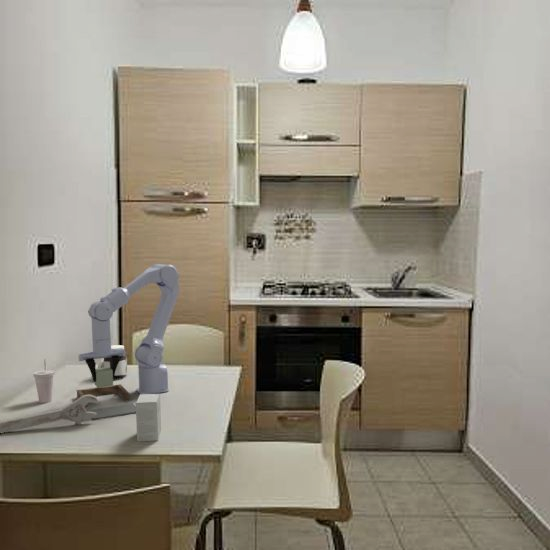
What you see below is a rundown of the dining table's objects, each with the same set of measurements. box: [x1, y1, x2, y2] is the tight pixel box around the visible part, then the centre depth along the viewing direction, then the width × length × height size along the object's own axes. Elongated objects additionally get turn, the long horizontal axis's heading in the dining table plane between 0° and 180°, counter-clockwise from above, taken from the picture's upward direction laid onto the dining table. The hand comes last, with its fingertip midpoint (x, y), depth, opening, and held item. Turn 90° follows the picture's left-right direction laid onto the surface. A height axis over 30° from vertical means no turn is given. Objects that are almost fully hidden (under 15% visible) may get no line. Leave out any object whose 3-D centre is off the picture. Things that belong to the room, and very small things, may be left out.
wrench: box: [0, 394, 100, 434], centre depth 163 cm, size 8×2×30 cm
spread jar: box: [96, 344, 128, 380], centre depth 220 cm, size 12×11×12 cm
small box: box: [135, 393, 162, 443], centre depth 155 cm, size 8×6×10 cm
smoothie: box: [33, 358, 55, 404], centre depth 189 cm, size 6×6×14 cm
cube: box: [93, 367, 114, 388], centre depth 188 cm, size 5×5×5 cm
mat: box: [86, 402, 136, 421], centre depth 177 cm, size 14×9×1 cm, turn 118°
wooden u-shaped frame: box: [76, 383, 130, 408], centre depth 191 cm, size 14×12×2 cm
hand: (103, 380), depth 188 cm, fingers closed on cube, 5 cm apart
